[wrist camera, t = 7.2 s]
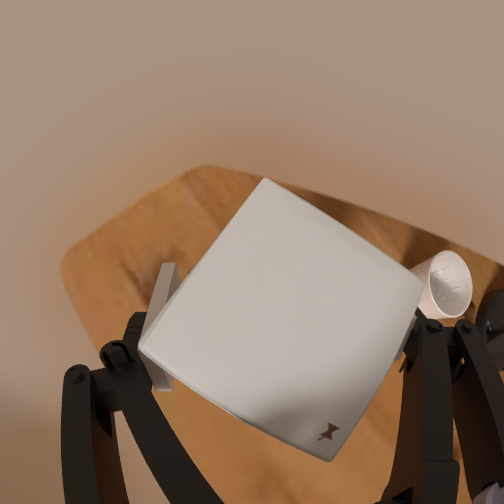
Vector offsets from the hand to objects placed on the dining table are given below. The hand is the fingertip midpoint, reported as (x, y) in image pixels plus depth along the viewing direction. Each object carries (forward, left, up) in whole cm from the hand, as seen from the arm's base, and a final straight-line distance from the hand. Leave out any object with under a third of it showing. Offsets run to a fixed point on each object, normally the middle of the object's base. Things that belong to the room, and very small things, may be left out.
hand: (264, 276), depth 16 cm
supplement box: (+2, +3, -5) cm, 6 cm away
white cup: (-18, +13, -19) cm, 30 cm away
